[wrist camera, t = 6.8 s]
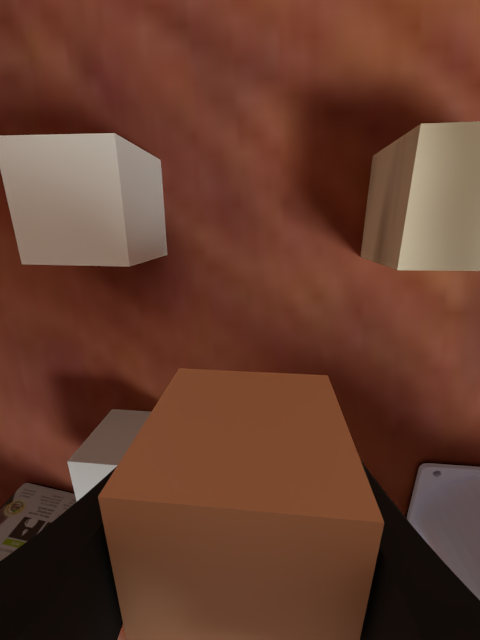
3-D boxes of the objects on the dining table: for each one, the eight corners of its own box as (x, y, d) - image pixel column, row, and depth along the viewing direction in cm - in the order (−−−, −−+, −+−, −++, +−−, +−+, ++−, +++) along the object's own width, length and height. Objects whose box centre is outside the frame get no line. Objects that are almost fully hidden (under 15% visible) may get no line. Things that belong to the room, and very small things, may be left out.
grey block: (179, 412, 21) (153, 468, 16) (183, 468, 22) (160, 534, 18) (112, 408, 21) (67, 461, 16) (121, 463, 23) (82, 526, 18)
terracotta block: (327, 375, 10) (384, 522, 5) (315, 492, 11) (348, 689, 6) (178, 368, 10) (97, 496, 5) (187, 481, 12) (130, 658, 7)
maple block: (478, 153, 14) (582, 117, 10) (455, 257, 16) (534, 271, 11) (372, 156, 15) (420, 123, 10) (360, 256, 16) (397, 269, 12)
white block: (161, 160, 16) (114, 132, 11) (167, 254, 17) (129, 266, 13) (73, 161, 16) (-8, 135, 11) (87, 253, 18) (21, 264, 13)
